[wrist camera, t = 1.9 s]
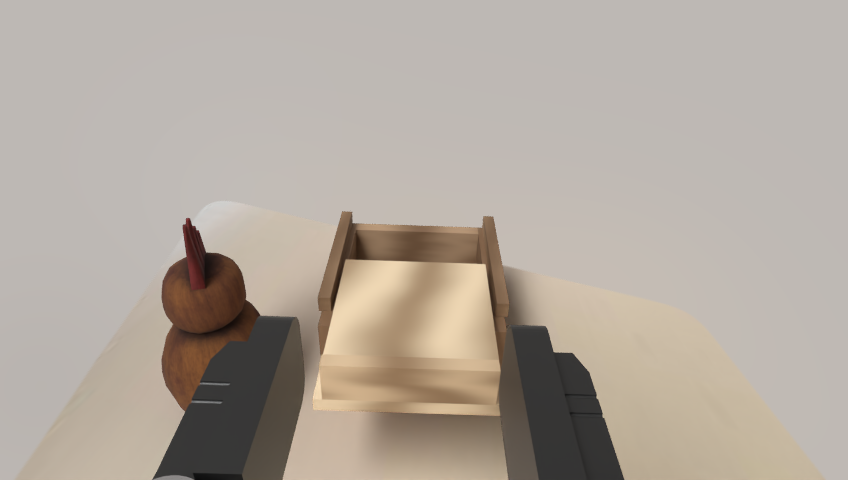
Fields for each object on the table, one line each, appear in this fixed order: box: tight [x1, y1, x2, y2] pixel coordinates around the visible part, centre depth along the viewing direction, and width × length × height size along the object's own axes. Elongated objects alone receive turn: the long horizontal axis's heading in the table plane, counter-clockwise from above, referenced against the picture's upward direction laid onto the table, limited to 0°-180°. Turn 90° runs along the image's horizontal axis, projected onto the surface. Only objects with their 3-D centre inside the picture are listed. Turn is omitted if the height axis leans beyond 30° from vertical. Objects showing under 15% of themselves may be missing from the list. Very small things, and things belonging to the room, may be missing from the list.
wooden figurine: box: [162, 218, 260, 412], centre depth 34 cm, size 7×6×15 cm
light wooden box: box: [318, 212, 509, 370], centre depth 42 cm, size 12×13×8 cm
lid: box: [312, 259, 501, 416], centre depth 34 cm, size 10×13×3 cm
